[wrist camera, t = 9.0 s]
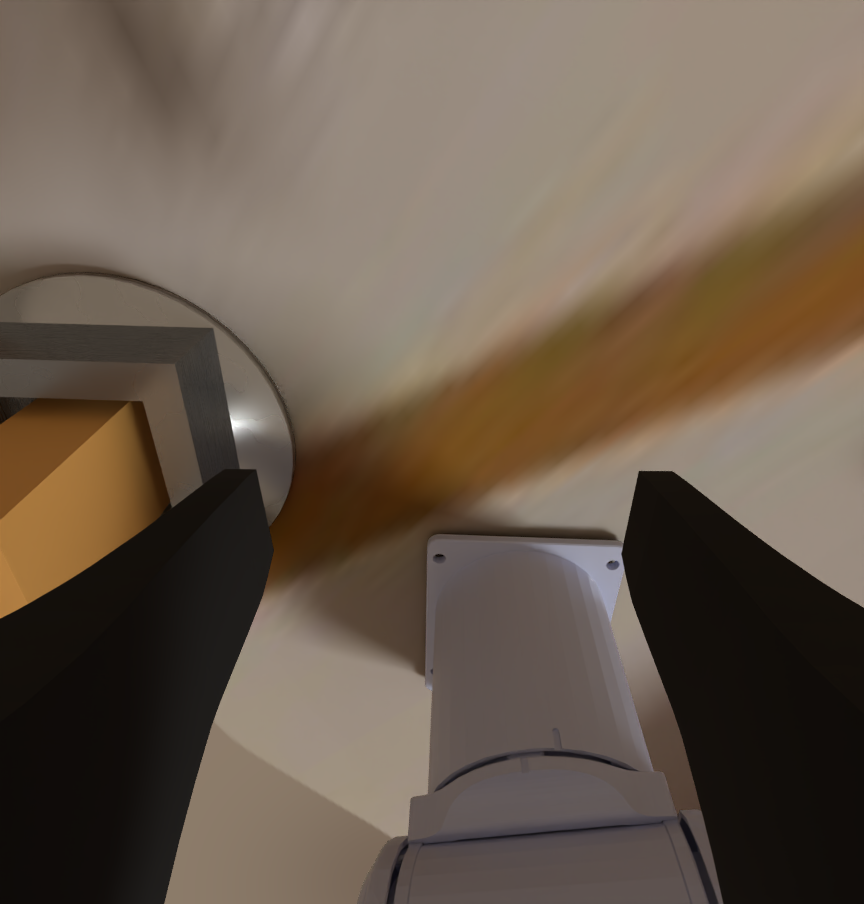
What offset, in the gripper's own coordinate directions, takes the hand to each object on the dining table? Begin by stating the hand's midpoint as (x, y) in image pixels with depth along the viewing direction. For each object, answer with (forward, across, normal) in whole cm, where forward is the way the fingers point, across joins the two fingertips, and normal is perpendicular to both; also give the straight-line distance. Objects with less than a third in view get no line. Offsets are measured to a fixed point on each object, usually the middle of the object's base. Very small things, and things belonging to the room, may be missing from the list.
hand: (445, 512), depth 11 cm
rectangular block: (+9, +12, +4) cm, 15 cm away
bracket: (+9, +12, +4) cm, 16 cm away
